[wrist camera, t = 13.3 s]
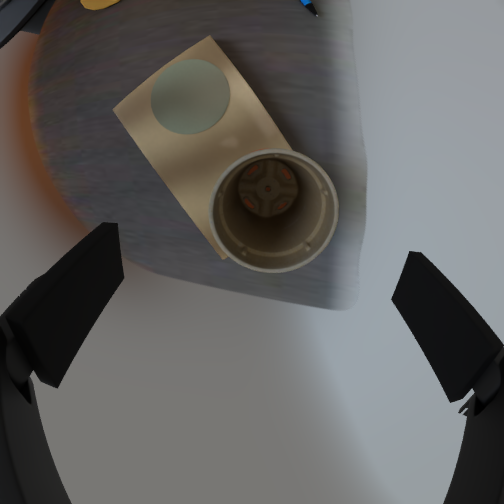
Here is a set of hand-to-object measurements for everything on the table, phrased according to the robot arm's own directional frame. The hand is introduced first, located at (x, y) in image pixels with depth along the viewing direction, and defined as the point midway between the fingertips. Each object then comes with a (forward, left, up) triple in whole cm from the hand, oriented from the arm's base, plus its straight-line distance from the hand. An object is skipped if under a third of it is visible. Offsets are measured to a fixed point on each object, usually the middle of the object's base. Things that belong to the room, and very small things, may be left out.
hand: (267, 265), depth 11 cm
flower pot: (+1, 0, -17) cm, 17 cm away
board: (-5, -2, -19) cm, 19 cm away
